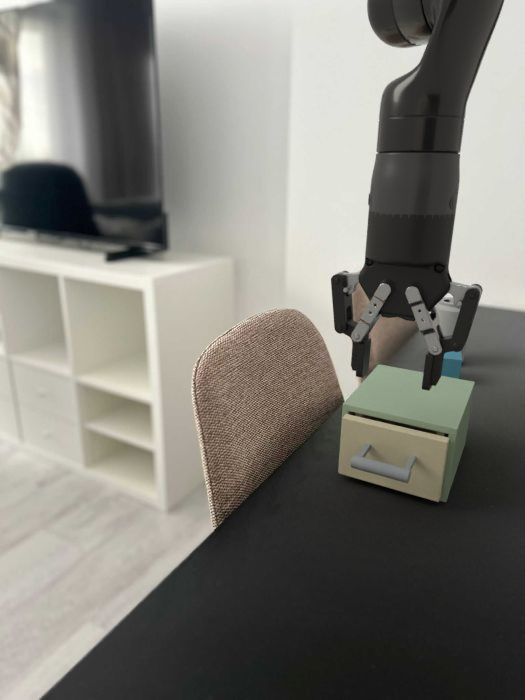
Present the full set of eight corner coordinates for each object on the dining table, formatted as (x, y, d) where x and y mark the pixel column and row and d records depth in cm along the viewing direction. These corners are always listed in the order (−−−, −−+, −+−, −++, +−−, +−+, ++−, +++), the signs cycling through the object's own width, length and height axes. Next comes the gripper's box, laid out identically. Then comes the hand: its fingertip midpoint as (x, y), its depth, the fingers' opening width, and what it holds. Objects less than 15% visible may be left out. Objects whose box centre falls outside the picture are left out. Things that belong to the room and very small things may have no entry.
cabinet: (446, 502, 56) (457, 429, 53) (337, 471, 62) (342, 403, 59) (465, 444, 69) (475, 381, 66) (373, 422, 74) (378, 364, 71)
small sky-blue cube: (457, 375, 92) (461, 351, 90) (458, 385, 87) (462, 360, 86) (430, 372, 93) (433, 348, 91) (430, 381, 89) (433, 356, 87)
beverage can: (432, 353, 103) (440, 294, 99) (466, 359, 100) (475, 299, 96) (424, 362, 98) (432, 301, 94) (459, 369, 94) (469, 306, 90)
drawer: (430, 526, 51) (439, 463, 49) (323, 493, 56) (327, 434, 54) (458, 446, 66) (466, 395, 64) (372, 426, 71) (376, 377, 69)
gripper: (502, 208, 46) (474, 382, 51) (348, 202, 52) (338, 357, 58) (494, 214, 39) (463, 411, 45) (320, 206, 46) (312, 379, 51)
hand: (393, 380), depth 51 cm, fingers open, 6 cm apart
